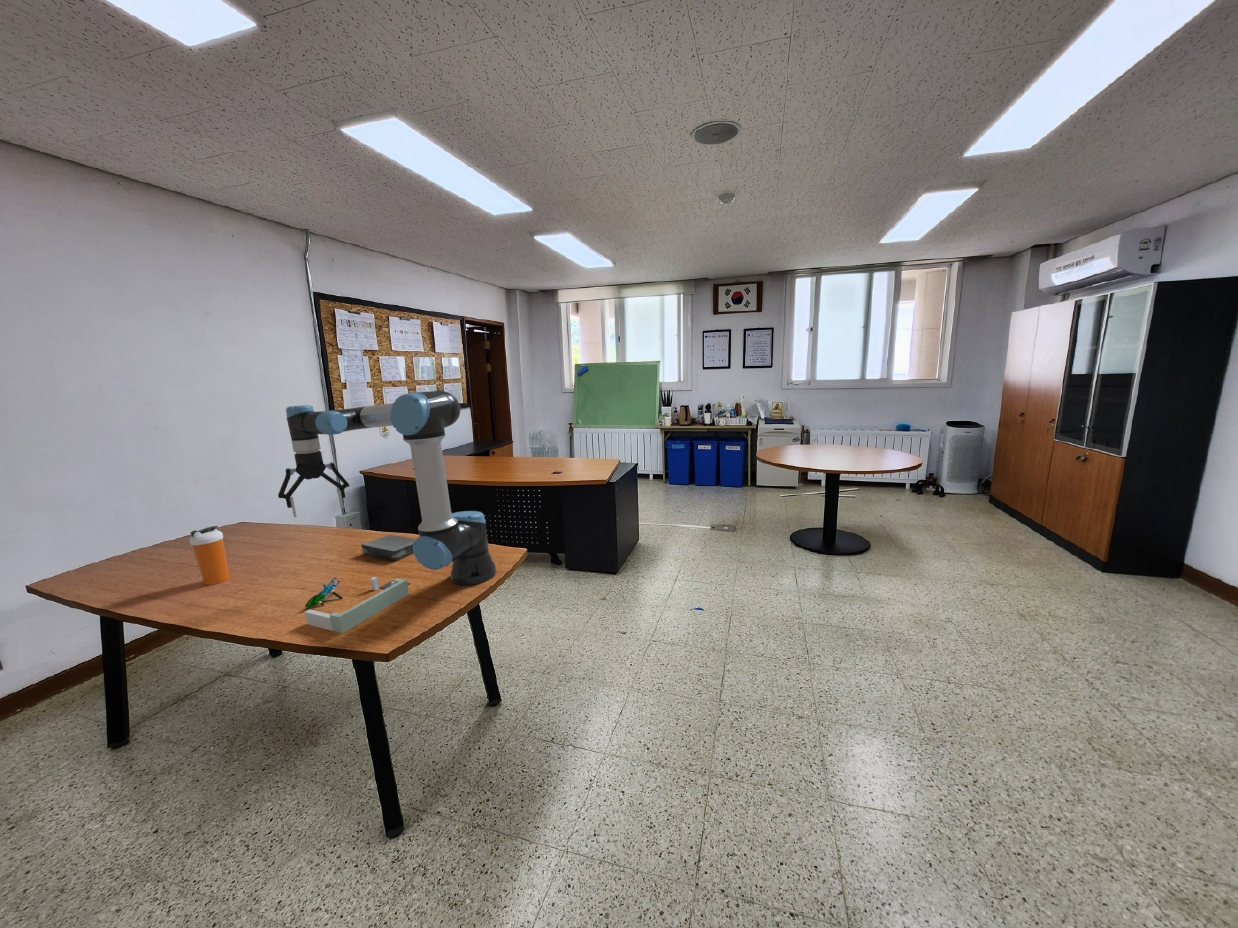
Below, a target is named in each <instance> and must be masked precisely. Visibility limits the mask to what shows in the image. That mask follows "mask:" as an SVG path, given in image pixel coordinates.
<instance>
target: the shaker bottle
mask: <svg viewBox="0 0 1238 928" xmlns="http://www.w3.org/2000/svg"><path fill="white" fill-rule="evenodd" d="M218 527H219V526H218V525H214V526H213V525H212V526H208V527H205V528H202V529H199V530H196V529H195V530H191V532H190V537H189V539H188V540H189V546H190V547H191V548H192V551H193V555H194V557H195V560H196V563H197V567H198V570H199V572H200V575H201V578H202V581H203V583H204V585H206V586H211V585H212V584H213V585H216V584H217V585H218V584H220V583H224V582H226V581H227V580H229V579H230V577H231V576H230V575H231V574H230V571H229V570H230V569H229V565H228V558H227V555H226V554H227V553H226V548H225V542H224V533H223V532H222V531H220V530H218ZM223 581H224V582H223ZM213 585H212V586H213Z"/></svg>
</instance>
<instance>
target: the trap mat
mask: <svg viewBox="0 0 1238 928" xmlns="http://www.w3.org/2000/svg"><path fill="white" fill-rule="evenodd" d="M394 580H395V579H393V580H390V581H389V582H387V583H385V584H384V585H381V586H379V589H383V590H385V589H387V588H388V587H390V586H391V582H393V581H394ZM410 585H411V583H410V582H407V586H410Z"/></svg>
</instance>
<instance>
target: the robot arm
mask: <svg viewBox="0 0 1238 928" xmlns="http://www.w3.org/2000/svg"><path fill="white" fill-rule="evenodd" d="M285 412H286V422H287V425H288V426H287V427H288V429H289V435H290V439H291V445H292V450H293V452H294V460H295V465H296V466H295V468H289V467H287V468H285V477H284V479H283V481H282V484H281V485H280V486H281V487H280V489H279V491H278V493H277V497H278V498H279V499H284V500H285V502H286V507H287V508H288V509H292V514H293V517H294V518H297V513H296V507H295V502H294V498H293V496H292V495H293V494H294V493H295V492H296V490H297V489H298V487H300V485H301V484H302V482H304V480H309V481H310V480H312V479H319V478H323V479H325V480H326V481H327V482H329V483H331V484H332V485H334V486H335V487H336V488H338V489H337V490H336V491H337V496H338V501H339V507H340V509H344V508H345V506H344V503H343V499H345V498H346V492H345V489H346V488H349V487H350V483H348V481H347V480H346V479H345V478H344V476H343V475H342V474H341V472H339V471H338V468H336V465H335V463H334V462H332V461H331V462H329V463H326V464H325V463H324V459H323V453H322V451H321V443H320V437H319V435H328V436H332V435H340V434H342V433H343V432H351V431H355V430H357V431H358V430H363V429H364V430H365V429H371V428H382V427H393V428H394V429H395V431H397V433H399V434H400V435H402V438H403V439H402V440H403V441H404V442H405V443H407V445H409V447H410V453H411V458H412V466H413V471H414V478H415V483H416V490H417V496H418V503H419V509H420V514H421V523H420V524H419V525H418V527H417V530H418V537H417V538H415V542H414V543H413V555H414V557H415V559H416V561H417V562H418V563H419V564H421V565H422V566H423V567H424V568H426V569H429V570H434V571H435V570H437V571H438V570H441V569H443V568H445V567H447V566H450V565H451V564H452V566H451V570H450V579H451V582H452V583H454V584H455V585H460V586H472V585H476V584H477V585H478V584H480V583H484V582H485V581H488V580H490V579H492V578H494V576H496V573H497V566H496V563H495V562H494V560H493V558H492V556H491V554H490V550H489V543H488V542H489V540H488V535H487V525H486V524H487V522H486V520H485V515H484V513H483V512H482V511H477V510H468V511H467V510H464V511H457V512H452V508H451V501H450V495H449V489H448V488H449V487H448V481H447V475H446V474H447V473H446V467H445V462H444V461H445V460H444V455H443V447H442V441H443V439H444V438H445V437H446V432H445V431H446V430H445V429H446V428H448V427H450V426H452V425H454V424H455V423H456V422H457V421H458V419H459V418H460V414H461V404H460V402H459V400H458V399H457V397H456V396H455V395H453V394H452V393H450V392H448V391H446V390H432V391H419V392H418V391H416V392H415V391H413V392H409V393H404V394H401V395H399V396H398V397H397V398H396V399H395V401H393V402H390V403H384V404H376V405H367V406H359V407H351V408H342V409H332V410H322V411H315V409H314V408H313V405H311V404H309V405H308V404H302V405H291V406H287V407H286V409H285ZM326 468H327V469H328V470H331V471H332V472H333V473H334V475H336V477H337V479H339V480H340V482H341V483H342V484H341V483H340V482H338V481H336V479H334V478H332V477H331V476H330V475H328V474H327V473H325V470H326ZM295 473H296V474H298V475H299V476H298V477H297V479H295V481H294V483H293V484H292V486H291V487H290V488H289V490H288V491H287V492H286V493H285V491H286V489H287V487H288V484H289V482H290V480H291V476H294V474H295Z"/></svg>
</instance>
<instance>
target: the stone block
mask: <svg viewBox="0 0 1238 928" xmlns="http://www.w3.org/2000/svg"><path fill="white" fill-rule="evenodd" d="M415 540H416V538H409V537H405V536H403V537H402V536H400V535H399V536H398V535H394V534H393V535H392V534H389V535H385V536H383V537H380V538H377V539H374V540H371V541H368V542H365V543H361V545H360V546H361V549H362V555H363V556H364V557H369V558H374V559H379V560H385V561H387V562H388V561H389V562H394V563H395V562H398V561H400V560H402V559H405V558H407V557H409V556H412V555H414V553H413V543H414V542H415Z"/></svg>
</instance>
